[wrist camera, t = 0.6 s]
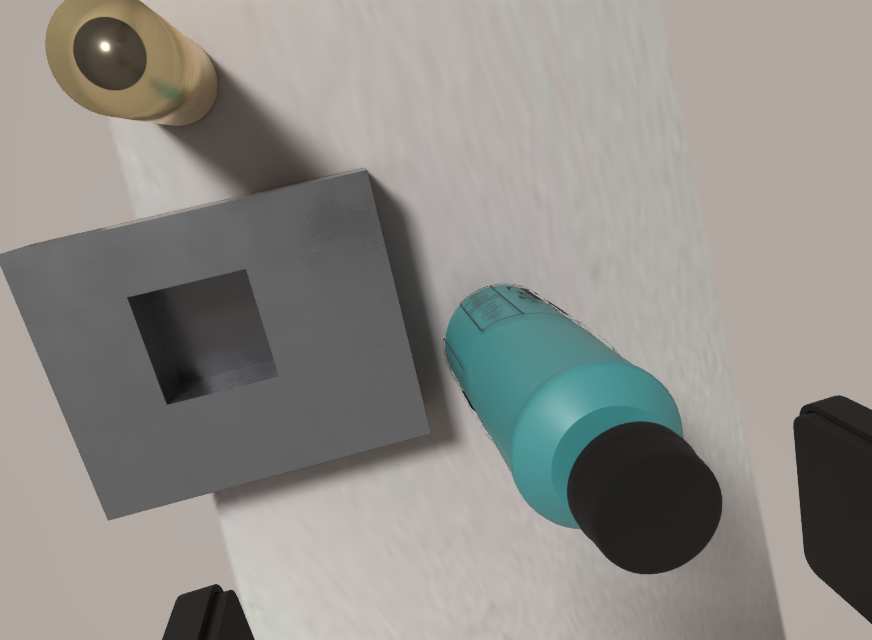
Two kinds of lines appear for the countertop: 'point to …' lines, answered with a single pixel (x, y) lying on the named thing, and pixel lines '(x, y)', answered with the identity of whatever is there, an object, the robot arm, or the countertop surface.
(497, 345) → the beverage bottle
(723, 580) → the countertop surface
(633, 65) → the countertop surface
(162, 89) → the bushing
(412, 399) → the jig
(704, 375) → the countertop surface
